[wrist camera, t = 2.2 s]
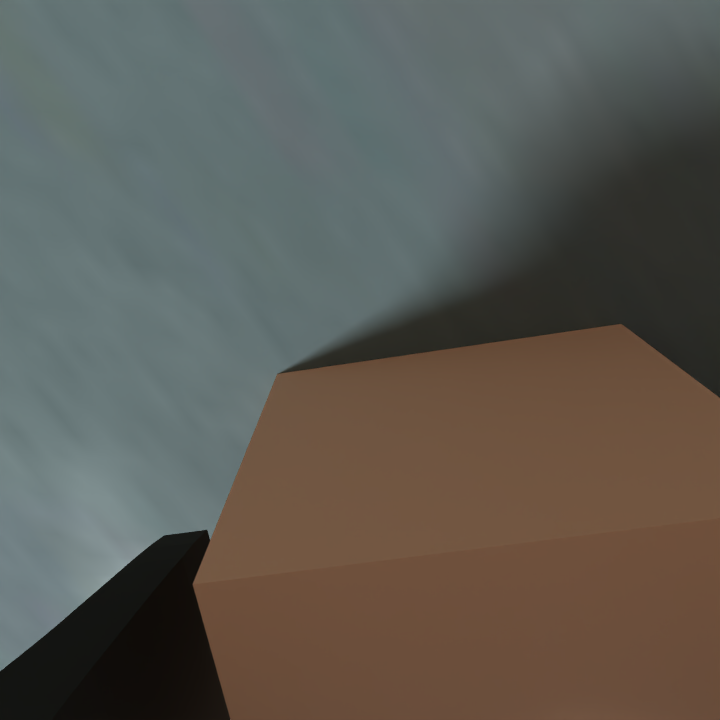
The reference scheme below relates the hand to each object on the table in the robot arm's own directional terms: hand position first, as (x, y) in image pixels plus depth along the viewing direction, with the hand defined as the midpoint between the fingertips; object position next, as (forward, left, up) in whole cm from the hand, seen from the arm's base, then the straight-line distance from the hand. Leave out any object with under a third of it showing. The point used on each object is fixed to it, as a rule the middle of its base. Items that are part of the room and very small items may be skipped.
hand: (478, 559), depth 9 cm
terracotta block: (0, 0, -2) cm, 2 cm away
